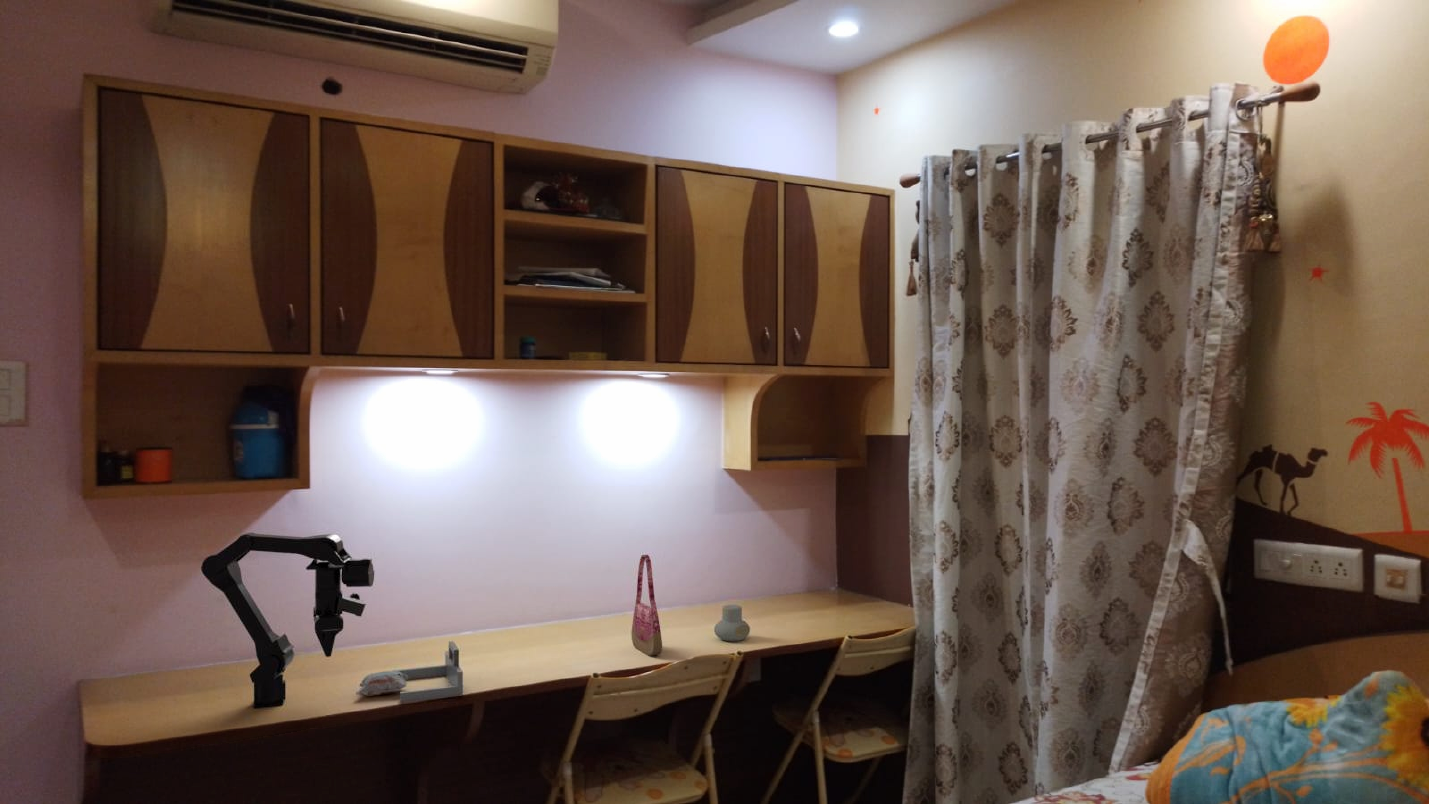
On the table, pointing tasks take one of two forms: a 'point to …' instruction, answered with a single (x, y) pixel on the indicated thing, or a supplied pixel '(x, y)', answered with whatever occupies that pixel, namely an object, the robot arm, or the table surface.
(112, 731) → the table surface
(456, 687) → the grey u-shaped frame
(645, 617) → the shoulder bag
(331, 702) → the table surface
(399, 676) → the packaged food
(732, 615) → the air freshener
